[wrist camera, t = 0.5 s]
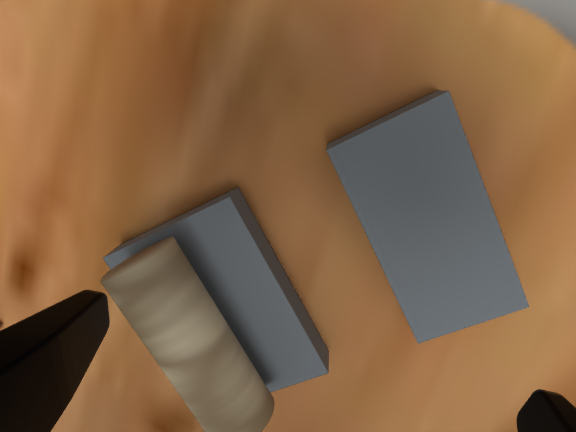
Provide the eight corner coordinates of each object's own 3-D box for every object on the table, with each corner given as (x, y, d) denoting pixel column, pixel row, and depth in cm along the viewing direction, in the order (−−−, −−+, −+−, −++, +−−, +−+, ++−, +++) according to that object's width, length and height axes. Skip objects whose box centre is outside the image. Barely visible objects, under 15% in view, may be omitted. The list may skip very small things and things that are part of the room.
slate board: (217, 389, 27) (208, 412, 25) (121, 244, 24) (102, 258, 22) (512, 287, 22) (529, 306, 20) (437, 90, 19) (449, 90, 17)
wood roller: (224, 398, 24) (202, 457, 21) (129, 254, 22) (83, 292, 18) (279, 382, 23) (266, 441, 20) (186, 228, 21) (149, 262, 17)
